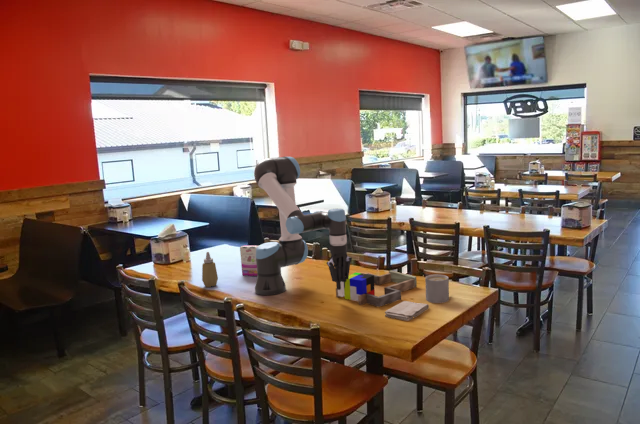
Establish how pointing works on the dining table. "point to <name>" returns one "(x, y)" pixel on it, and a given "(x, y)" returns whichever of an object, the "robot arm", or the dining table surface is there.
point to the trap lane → (388, 288)
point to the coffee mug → (437, 288)
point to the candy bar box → (248, 260)
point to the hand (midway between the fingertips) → (341, 295)
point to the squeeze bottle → (209, 272)
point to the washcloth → (406, 310)
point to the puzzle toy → (358, 285)
